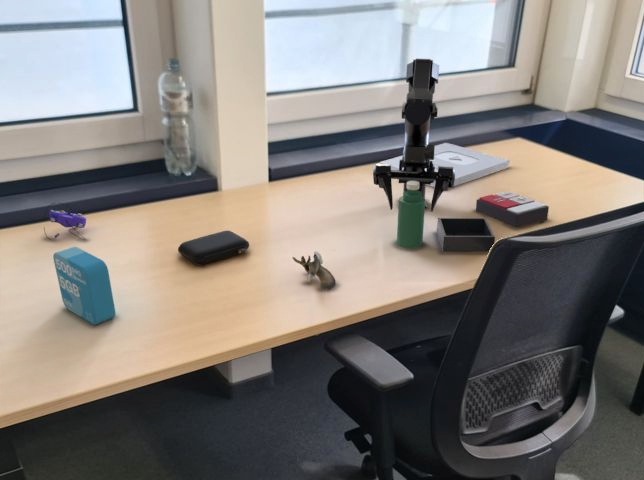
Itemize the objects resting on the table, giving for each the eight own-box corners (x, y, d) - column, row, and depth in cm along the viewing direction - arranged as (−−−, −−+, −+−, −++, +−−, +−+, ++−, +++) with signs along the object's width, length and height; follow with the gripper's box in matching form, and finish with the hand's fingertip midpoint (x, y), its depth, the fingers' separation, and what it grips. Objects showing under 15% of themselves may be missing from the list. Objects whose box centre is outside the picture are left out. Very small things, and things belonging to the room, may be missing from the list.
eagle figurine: (285, 275, 159) (308, 283, 152) (297, 243, 158) (321, 249, 151) (312, 286, 164) (336, 294, 157) (324, 255, 163) (348, 262, 156)
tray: (436, 233, 181) (437, 217, 179) (484, 233, 182) (486, 217, 179) (442, 253, 172) (443, 236, 169) (493, 253, 172) (495, 236, 170)
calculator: (507, 189, 197) (550, 203, 186) (506, 205, 200) (548, 220, 189) (475, 196, 192) (517, 211, 181) (474, 212, 195) (516, 228, 184)
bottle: (402, 237, 179) (406, 176, 171) (426, 242, 177) (430, 181, 169) (392, 246, 175) (395, 184, 166) (416, 251, 172) (420, 188, 164)
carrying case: (199, 270, 163) (256, 253, 171) (198, 257, 161) (255, 241, 169) (175, 254, 170) (230, 238, 178) (173, 242, 168) (229, 226, 176)
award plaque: (379, 169, 222) (379, 162, 221) (445, 149, 239) (446, 142, 238) (442, 190, 207) (443, 182, 206) (508, 167, 224) (509, 160, 223)
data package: (63, 307, 149) (51, 250, 142) (83, 299, 151) (72, 244, 145) (96, 327, 142) (85, 269, 135) (117, 319, 145) (107, 262, 138)
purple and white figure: (91, 208, 184) (89, 214, 175) (86, 240, 186) (84, 248, 177) (48, 198, 180) (44, 204, 171) (43, 232, 183) (39, 239, 174)
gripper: (375, 128, 168) (369, 193, 165) (458, 131, 166) (454, 197, 163) (376, 152, 179) (371, 213, 176) (455, 156, 177) (451, 217, 174)
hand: (411, 210), depth 172 cm, fingers open, 9 cm apart
